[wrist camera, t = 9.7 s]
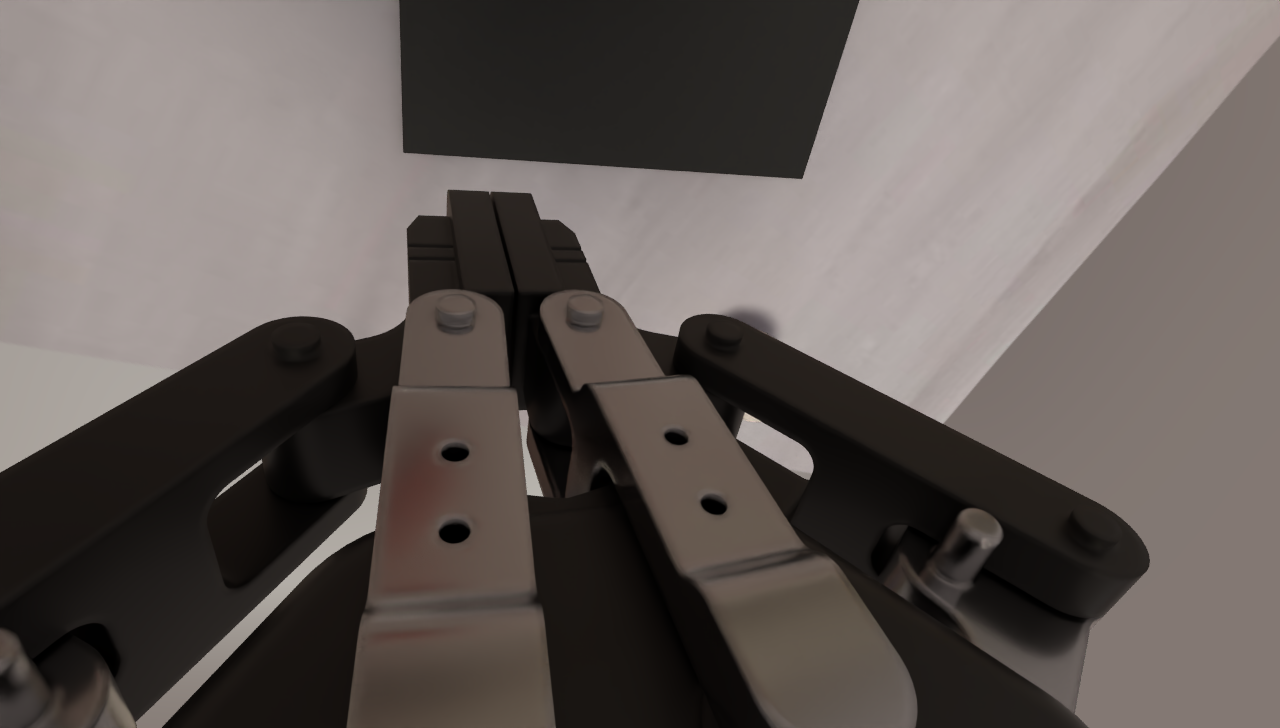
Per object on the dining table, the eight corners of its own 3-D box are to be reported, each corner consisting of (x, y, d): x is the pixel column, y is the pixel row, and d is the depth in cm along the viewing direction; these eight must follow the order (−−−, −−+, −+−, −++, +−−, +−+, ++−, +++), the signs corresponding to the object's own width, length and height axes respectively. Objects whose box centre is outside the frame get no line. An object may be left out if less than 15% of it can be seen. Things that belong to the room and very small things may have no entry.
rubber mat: (393, -219, 26) (393, -219, 26) (889, -108, 33) (893, -107, 33) (403, 150, 34) (403, 153, 34) (799, 176, 41) (802, 179, 41)
